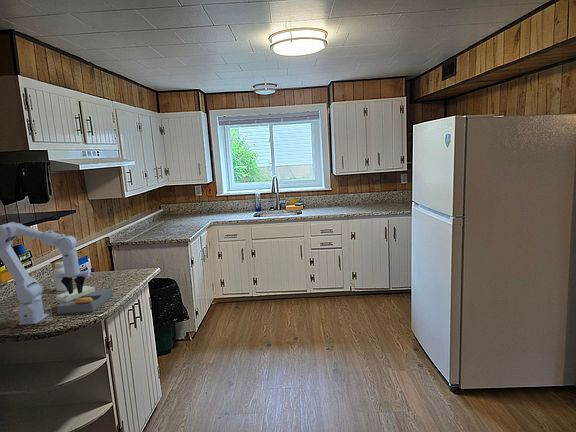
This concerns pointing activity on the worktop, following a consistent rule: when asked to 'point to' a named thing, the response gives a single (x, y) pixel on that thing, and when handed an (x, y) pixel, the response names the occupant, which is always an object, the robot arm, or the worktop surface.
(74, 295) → the cover
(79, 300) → the tan capsule pill
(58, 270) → the pill bottle
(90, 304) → the gray storage bin
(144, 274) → the worktop surface
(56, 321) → the worktop surface
